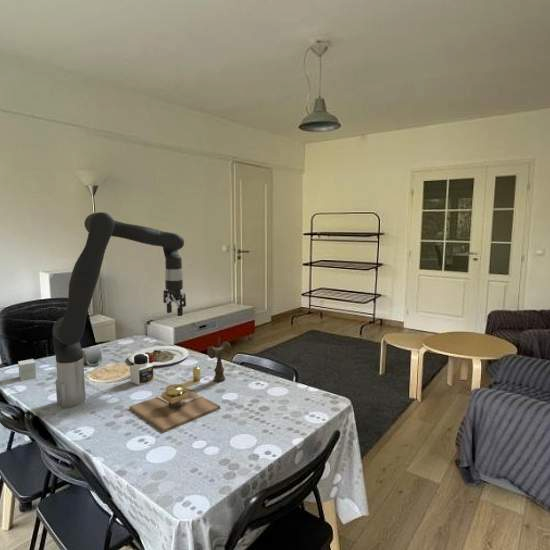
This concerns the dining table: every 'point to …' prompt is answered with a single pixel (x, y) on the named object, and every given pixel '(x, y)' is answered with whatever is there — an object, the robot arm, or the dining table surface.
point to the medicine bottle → (141, 370)
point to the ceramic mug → (92, 356)
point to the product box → (27, 369)
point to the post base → (174, 410)
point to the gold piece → (181, 388)
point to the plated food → (161, 355)
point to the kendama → (219, 358)
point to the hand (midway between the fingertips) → (174, 314)
